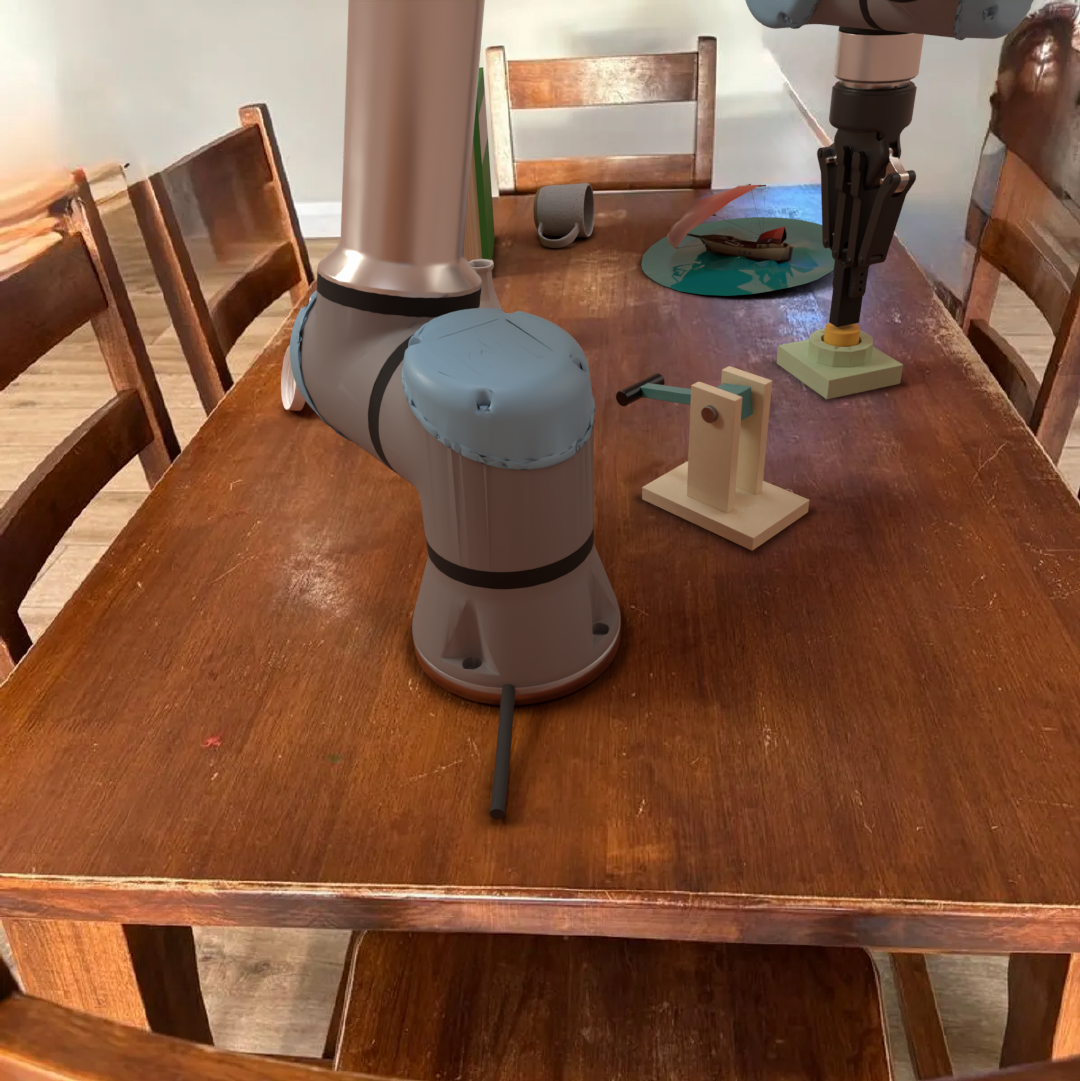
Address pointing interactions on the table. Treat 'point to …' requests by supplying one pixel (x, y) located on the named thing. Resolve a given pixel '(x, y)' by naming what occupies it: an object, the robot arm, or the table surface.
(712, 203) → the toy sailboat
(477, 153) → the hardback book
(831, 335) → the button
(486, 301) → the flask
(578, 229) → the ceramic mug
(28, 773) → the table surface
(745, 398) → the lever
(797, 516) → the wooden stand
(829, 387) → the button box
